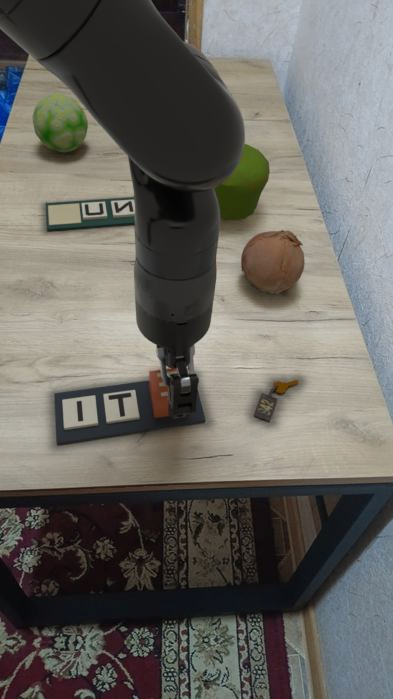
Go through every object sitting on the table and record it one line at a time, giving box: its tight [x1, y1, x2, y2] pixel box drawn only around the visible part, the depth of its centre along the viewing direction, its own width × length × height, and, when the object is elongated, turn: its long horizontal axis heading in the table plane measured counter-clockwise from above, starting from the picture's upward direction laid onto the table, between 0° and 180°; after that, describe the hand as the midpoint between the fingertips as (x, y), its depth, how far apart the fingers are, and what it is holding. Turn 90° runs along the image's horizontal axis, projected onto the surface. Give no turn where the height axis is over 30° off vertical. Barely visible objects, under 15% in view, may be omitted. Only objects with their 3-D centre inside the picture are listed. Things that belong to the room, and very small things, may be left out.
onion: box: [240, 229, 306, 295], centre depth 73 cm, size 10×9×10 cm
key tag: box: [253, 379, 299, 422], centre depth 64 cm, size 8×3×1 cm, turn 144°
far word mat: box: [45, 196, 135, 232], centre depth 84 cm, size 18×7×1 cm, turn 102°
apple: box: [214, 143, 270, 221], centre depth 83 cm, size 12×12×11 cm
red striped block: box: [148, 368, 177, 418], centre depth 61 cm, size 4×4×4 cm
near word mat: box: [53, 380, 206, 446], centre depth 61 cm, size 18×7×1 cm, turn 102°
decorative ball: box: [32, 93, 89, 153], centre depth 92 cm, size 10×10×10 cm
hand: (171, 383), depth 59 cm, fingers open, 8 cm apart
